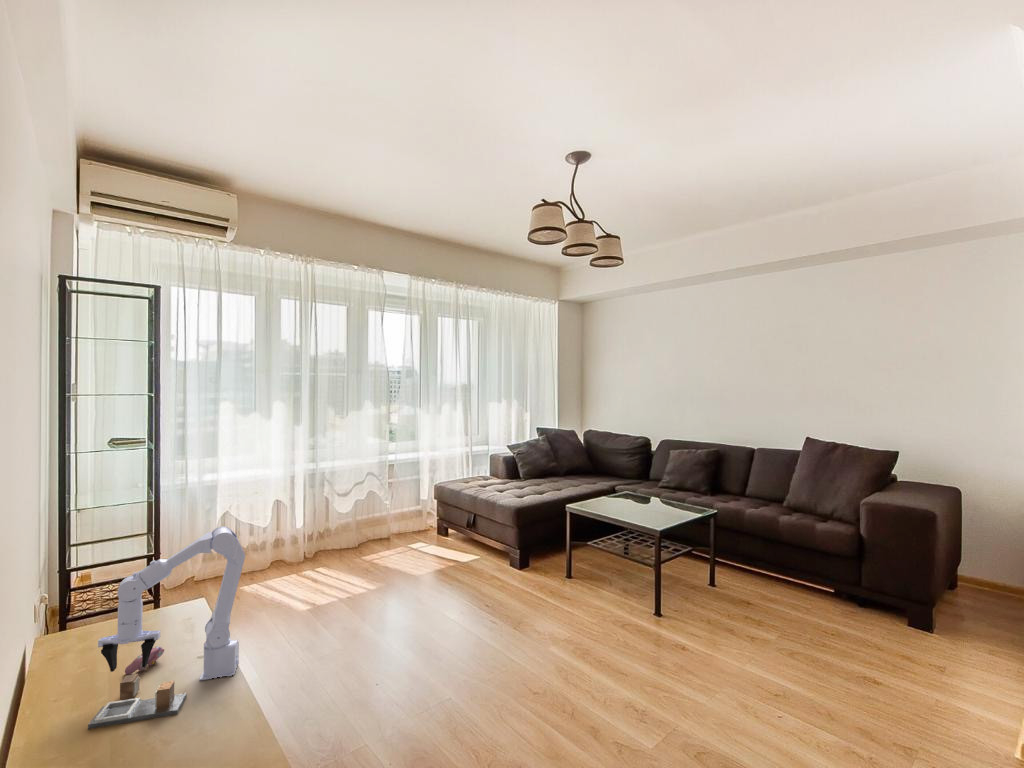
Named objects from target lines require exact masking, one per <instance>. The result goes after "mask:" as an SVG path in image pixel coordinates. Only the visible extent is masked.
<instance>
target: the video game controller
mask: <svg viewBox="0 0 1024 768" xmlns="http://www.w3.org/2000/svg"><path fill="white" fill-rule="evenodd" d="M164 653H165V649H164V648H163V647H160V646H158V645H156V646H154V647H153V648H152V650H151V653H150V656H149V659H148V664H147V665H146V667H142V653H141V654H140V655H138V656H137V657H136V658H135V659H134V660H133V661H132V662H131V663H130V664H128V665H127V666H126V667H125V669H124V673H125V675H133V674H134V672H136V671H137V670H138V671H140V672H142V671H144V670H145V669H146V668H147V666H149V667H151V666H153V665H154V664H155V663H156V662H157V660H158V659H160V657H161V656H162V655H163V654H164ZM143 669H144V670H143Z"/></svg>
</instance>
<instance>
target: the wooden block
mask: <svg viewBox="0 0 1024 768" xmlns="http://www.w3.org/2000/svg"><path fill="white" fill-rule="evenodd" d="M139 691H140V675H139V673H135V674H134V673H133V674H126V675H125V676H124V678H123V679H122V680H121V682H119V701H120V700H128V699H134V697H135V696H137V693H138V692H139Z"/></svg>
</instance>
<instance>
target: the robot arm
mask: <svg viewBox="0 0 1024 768" xmlns="http://www.w3.org/2000/svg"><path fill="white" fill-rule="evenodd" d="M212 550H213V551H214V552H215V553H217V554H219V555H221V556H223V557H224V558H225V559H226V564H225V569H224V571H223V576H222V579H221V583H220V587H219V591H218V594H217V598H216V603H215V606H214V609H213V611H212V613H211V617H210V618H209V620H208V621H207V622H206V624H205V626H204V633H205V637H206V639H205V641H204V643H203V670H202V673H201V675H200V677H199V678H198V681H206V680H213V679H212V678H214V679H218V678H217V677H220V678H223V677H222V676H227V677H232V675H233V676H234V675H235V673H236V671H237V669H238V667H237V665H238V666H239V665H240V660H239V657H240V648H239V647H240V644H239V643H240V642H239V639H238V640H236V639H235V640H234V639H231V631H230V624H231V616H232V615H231V614H232V610H233V606H234V602H235V598H236V593H237V590H238V586H239V583H240V578H241V574H242V570H243V567H244V562H245V559H246V553H245V551H244V549H243V547H242V545H241V543H240V541H239V539H238V536H237V533H235V532H234V531H233V530H232V529H231V528H229V527H228V526H219V527H218V526H217V528H214V529H213V530H212V531H208V532H207V533H205V534H204V535H201V537H199V538H198V539H195V540H194V541H193V542H191V543H190V544H188V545H187V546H185V547H184V548H182V549H181V550H179V551H178V552H175V553H174V554H172V556H170V557H168V558H166V559H165V558H160V559H158V560H157V559H156V560H155V559H154V560H152V561H150V562H149V565H147V566H146V567H144V568H143V569H141V570H139V571H138V572H137V571H135V572H133V573H132V574H131V575H130V576H127V577H125V578H124V579H122V581H120V583H119V585H118V587H117V588H118V589H117V593H116V594H117V597H118V603H117V604H118V606H117V634H114V635H109V636H104V637H100V638H99V640H97V641H98V642H97V648H101V650H100V653H101V655H102V656H103V657H104V658H105V660H106V661H107V665H108V667H109V671H110V673H113V672H115V670H116V669H117V668H118V667H117V665H118V662H117V661H118V656H117V655H118V648H119V647H118V646H119V645H128V644H129V643H136V642H137V643H138V642H142V644H141V645H140V648H141V654H142V667H146V668H147V666H148V659H149V656H150V653H151V650H152V648H154V645H155V644H156V642H157V641H158V640H159V639H160V638H161V630H143V609H144V608H143V607H144V606H143V605H144V603H143V602H144V601H143V600H142V598H143V597H142V595H143V592H144V591H145V590H149V589H150V588H152V587H153V586H155V585H157V584H158V583H160V582H162V581H163V580H164V579H167V578H168V577H169V576H171V574H172V572H173V569H174V568H176V567H178V566H180V565H181V564H183V563H185V562H187V561H188V560H190V559H192V558H194V557H196V556H197V555H199V554H212ZM146 665H147V666H146ZM236 668H237V669H236Z"/></svg>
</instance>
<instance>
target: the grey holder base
mask: <svg viewBox="0 0 1024 768" xmlns="http://www.w3.org/2000/svg"><path fill="white" fill-rule="evenodd" d="M187 695H188V693H187V692H184V693H178V694H175V680H170V681H164V682H161V683H160V685H159V686H158V687H157V689H156V690H155V695H154V696H155V697H154V698H152V697H151V698H148V699H141V697H136V698H134V697H133V699H128V700H121V701H120V700H117V701H109V702H107V703H106V704H105V705H103V706H101V708H100V709H99V711H98V712H97V713H96V714H95V715H94V717H93V718H92V719H91V721H90V722H89V723H88V725H87V730H91V729H90V728H93V729H97V728H96V727H99V728H102V727H103V726H104V727H110V725H111V726H115V724H117V725H122V724H127V723H133V722H140V721H145V720H146V721H147V720H150V719H151V720H152V719H158V718H163V717H169V716H175V715H176V716H177V715H178V714H179V712H180V710H181V708H183V707H182V706H183V705H184V703H185V701H186V699H187Z"/></svg>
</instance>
